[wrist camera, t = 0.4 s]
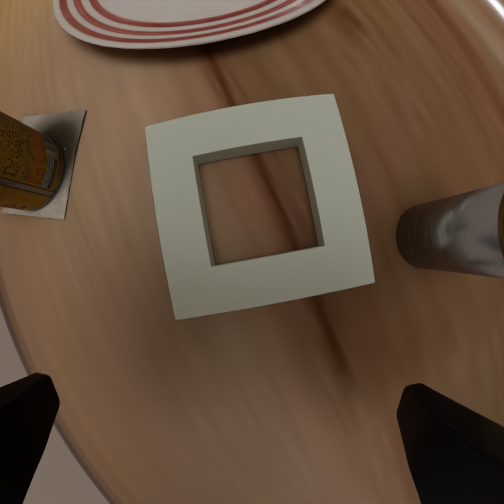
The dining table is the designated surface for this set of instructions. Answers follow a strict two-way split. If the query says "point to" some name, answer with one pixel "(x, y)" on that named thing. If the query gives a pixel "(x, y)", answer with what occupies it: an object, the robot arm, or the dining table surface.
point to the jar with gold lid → (456, 233)
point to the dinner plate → (172, 20)
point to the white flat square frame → (272, 266)
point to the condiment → (37, 162)
